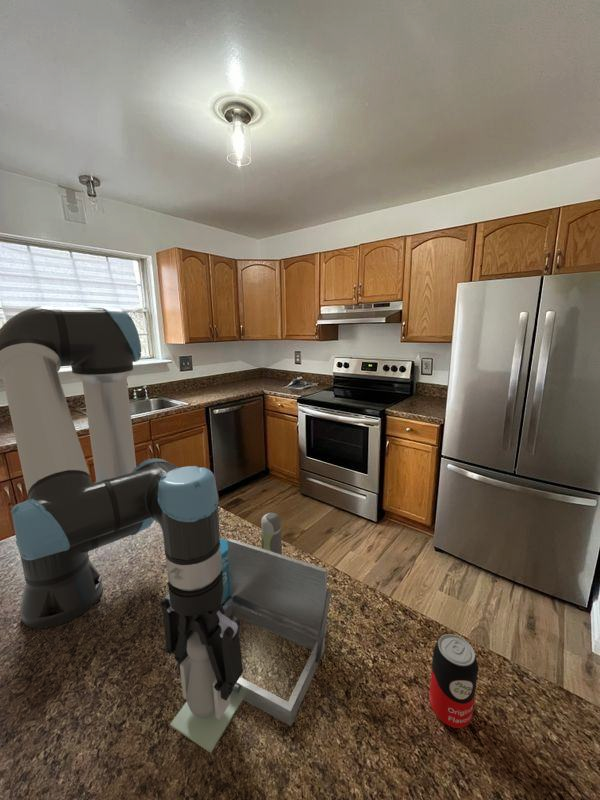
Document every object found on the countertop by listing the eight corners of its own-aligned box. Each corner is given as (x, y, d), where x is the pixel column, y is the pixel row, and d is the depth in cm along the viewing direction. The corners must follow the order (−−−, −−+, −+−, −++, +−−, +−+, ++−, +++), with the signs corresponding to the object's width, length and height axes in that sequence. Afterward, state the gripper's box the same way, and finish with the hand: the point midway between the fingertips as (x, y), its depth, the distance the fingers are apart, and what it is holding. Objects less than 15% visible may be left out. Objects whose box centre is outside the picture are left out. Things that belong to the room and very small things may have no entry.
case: (181, 669, 61) (173, 588, 58) (233, 606, 75) (229, 538, 71) (295, 733, 52) (294, 641, 48) (331, 647, 65) (332, 570, 62)
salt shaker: (211, 678, 58) (206, 614, 55) (232, 701, 55) (228, 634, 52) (180, 707, 54) (173, 639, 51) (201, 734, 50) (195, 663, 47)
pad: (170, 725, 53) (169, 724, 53) (205, 678, 60) (205, 676, 60) (210, 753, 49) (210, 751, 49) (242, 699, 56) (242, 697, 56)
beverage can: (421, 709, 55) (427, 648, 52) (438, 681, 59) (444, 623, 56) (462, 743, 50) (470, 678, 48) (477, 710, 54) (485, 648, 52)
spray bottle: (269, 583, 82) (267, 507, 78) (287, 589, 80) (285, 512, 75) (258, 597, 78) (255, 518, 73) (276, 604, 75) (274, 523, 71)
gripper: (128, 570, 50) (145, 695, 55) (233, 616, 42) (241, 758, 47) (168, 542, 56) (179, 655, 61) (265, 576, 48) (269, 704, 53)
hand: (206, 699), depth 54 cm, fingers closed on salt shaker, 6 cm apart
